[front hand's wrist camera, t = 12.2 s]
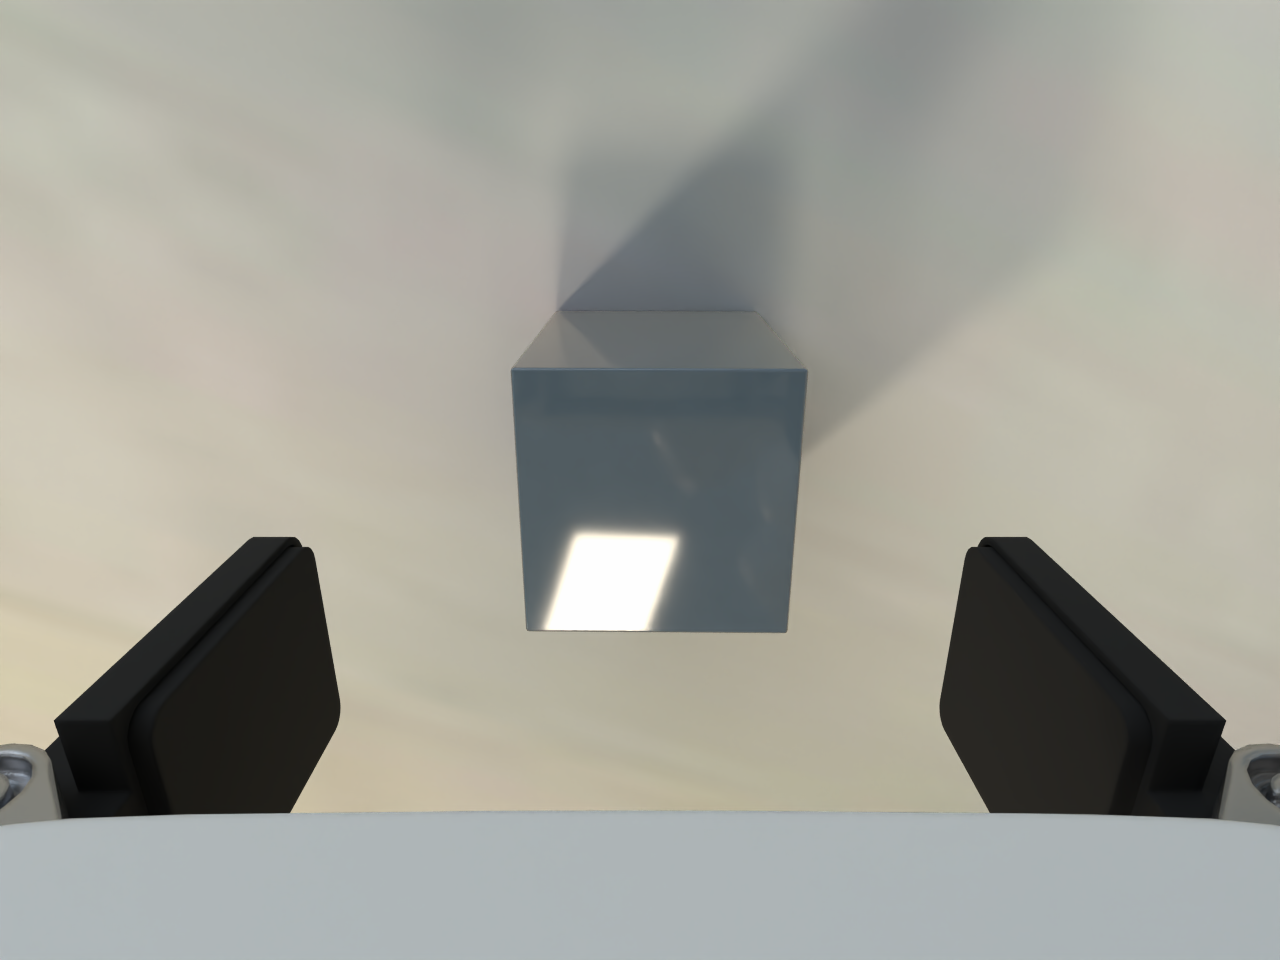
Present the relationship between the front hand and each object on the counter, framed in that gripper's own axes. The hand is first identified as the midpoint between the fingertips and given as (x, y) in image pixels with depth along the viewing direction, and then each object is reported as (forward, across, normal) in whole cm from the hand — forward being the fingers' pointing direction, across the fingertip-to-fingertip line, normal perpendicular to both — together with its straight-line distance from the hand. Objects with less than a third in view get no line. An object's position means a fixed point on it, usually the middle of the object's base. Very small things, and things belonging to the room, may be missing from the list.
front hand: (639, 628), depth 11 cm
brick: (+13, 0, +1) cm, 13 cm away
